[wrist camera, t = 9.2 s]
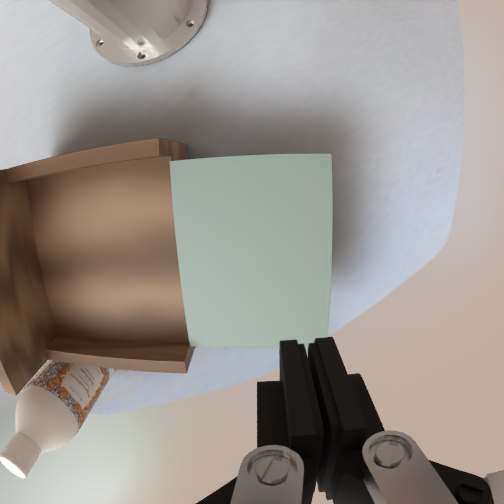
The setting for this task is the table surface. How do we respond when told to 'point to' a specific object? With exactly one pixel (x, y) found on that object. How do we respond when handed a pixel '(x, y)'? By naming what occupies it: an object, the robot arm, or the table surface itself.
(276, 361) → the table surface
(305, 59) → the table surface
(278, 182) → the panel
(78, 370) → the bath foam
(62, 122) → the table surface
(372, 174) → the table surface
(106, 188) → the tray
